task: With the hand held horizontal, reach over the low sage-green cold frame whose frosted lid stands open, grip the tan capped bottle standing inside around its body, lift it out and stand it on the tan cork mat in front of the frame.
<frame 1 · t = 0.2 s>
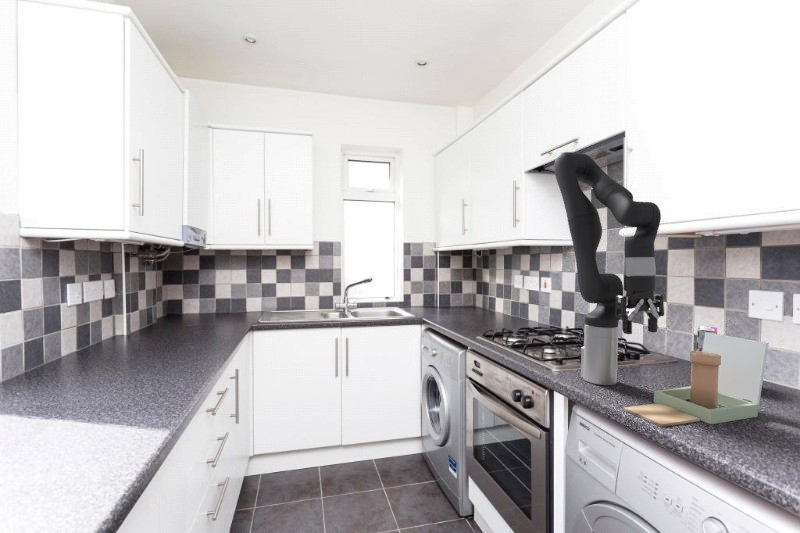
hand: (640, 332, 106), 17 cm above the worktop, tool pointing down, fingers open, 8 cm apart
mat: (660, 415, 93), on the worktop
candy bar box: (705, 380, 121), on the worktop
frame lid: (730, 365, 100), point 10 cm above the worktop
cold frame: (703, 409, 97), on the worktop
tan capped bottle: (704, 381, 97), in the cold frame
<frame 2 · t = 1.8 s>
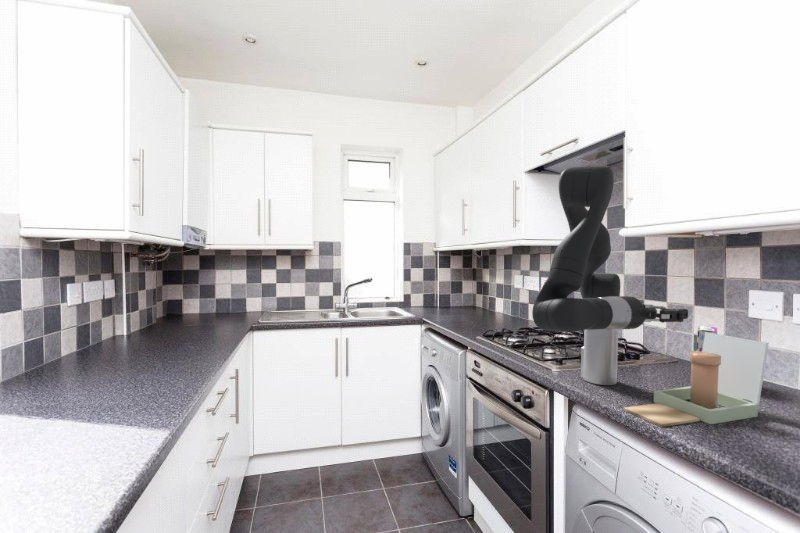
hand: (668, 311, 93), 25 cm above the worktop, tool horizontal, fingers open, 8 cm apart
nothing on the worktop moved.
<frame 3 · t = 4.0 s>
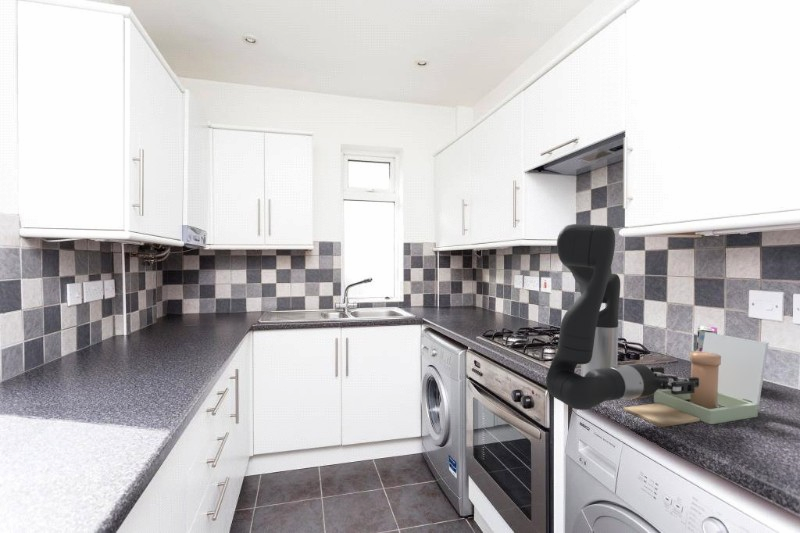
hand: (679, 376, 94), 9 cm above the worktop, tool horizontal, fingers open, 8 cm apart
nothing on the worktop moved.
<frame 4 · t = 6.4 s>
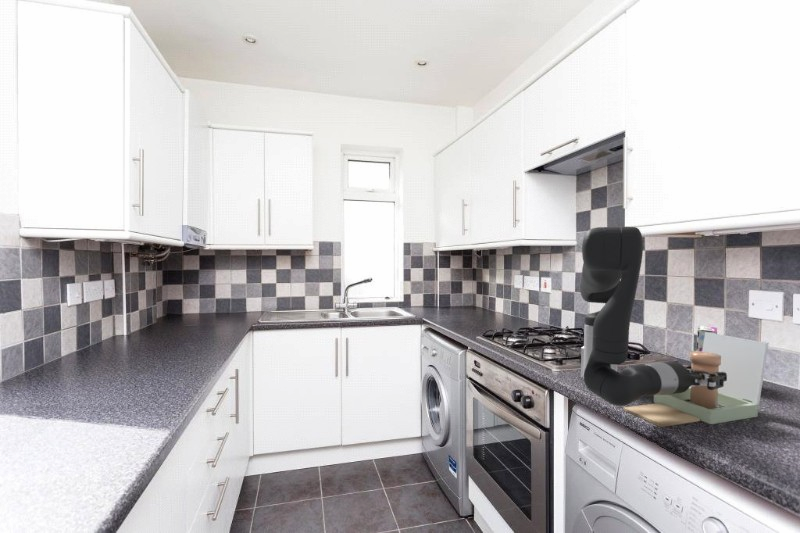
hand: (711, 372, 98), 9 cm above the worktop, tool horizontal, fingers closed on tan capped bottle, 5 cm apart
tan capped bottle: (704, 381, 97), in the cold frame, touching gripper
everything else where it was.
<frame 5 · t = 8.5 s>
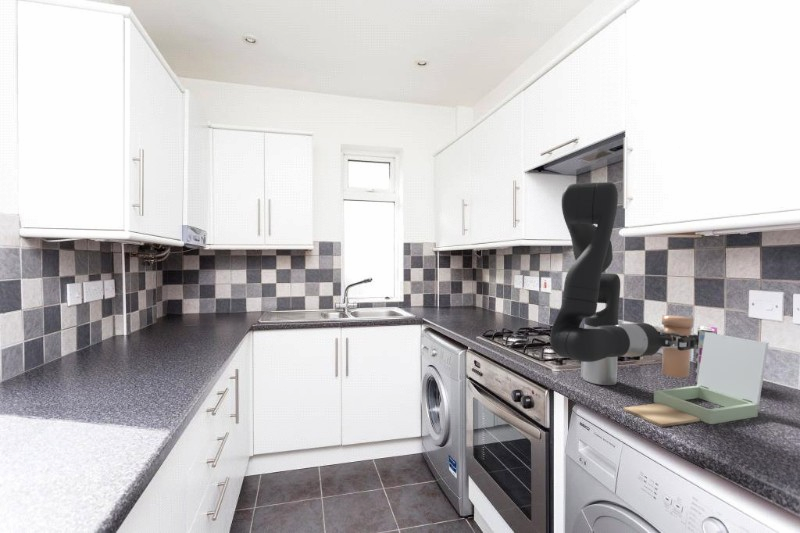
hand: (683, 337, 94), 19 cm above the worktop, tool horizontal, fingers closed on tan capped bottle, 5 cm apart
tan capped bottle: (676, 345, 93), point 17 cm above the worktop, touching gripper
everything else where it was.
when the fingers open (10 cm above the worktop, at t = 10.9 s): tan capped bottle stays where it is, resting on mat.
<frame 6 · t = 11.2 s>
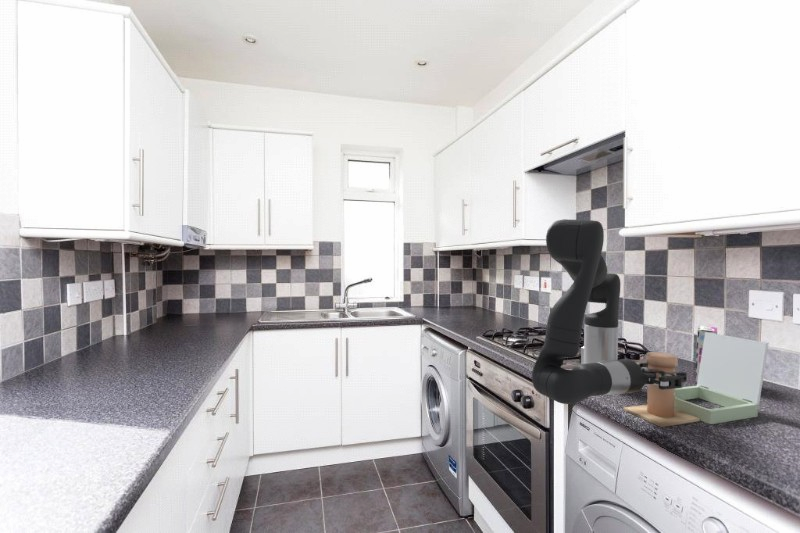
hand: (667, 371, 93), 11 cm above the worktop, tool horizontal, fingers open, 8 cm apart
tan capped bottle: (661, 384, 92), on the mat, point 8 cm above the worktop
everything else where it was.
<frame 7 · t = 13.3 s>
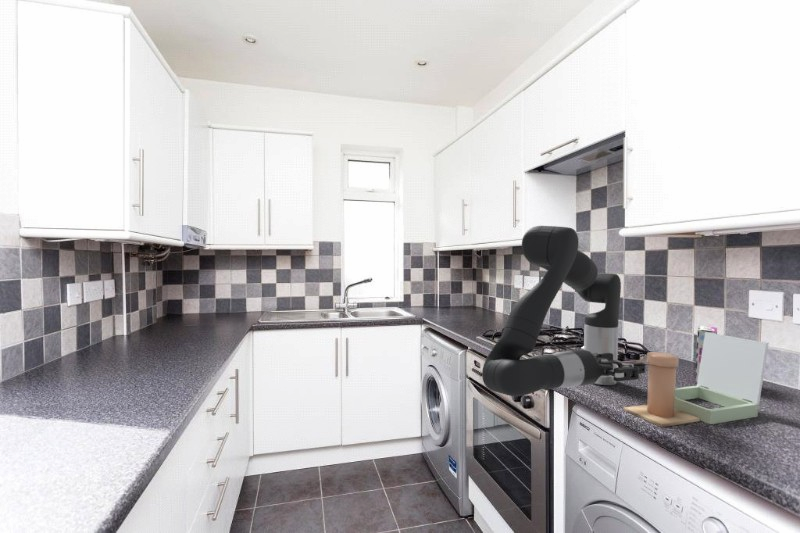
hand: (627, 362, 89), 14 cm above the worktop, tool horizontal, fingers open, 8 cm apart
nothing on the worktop moved.
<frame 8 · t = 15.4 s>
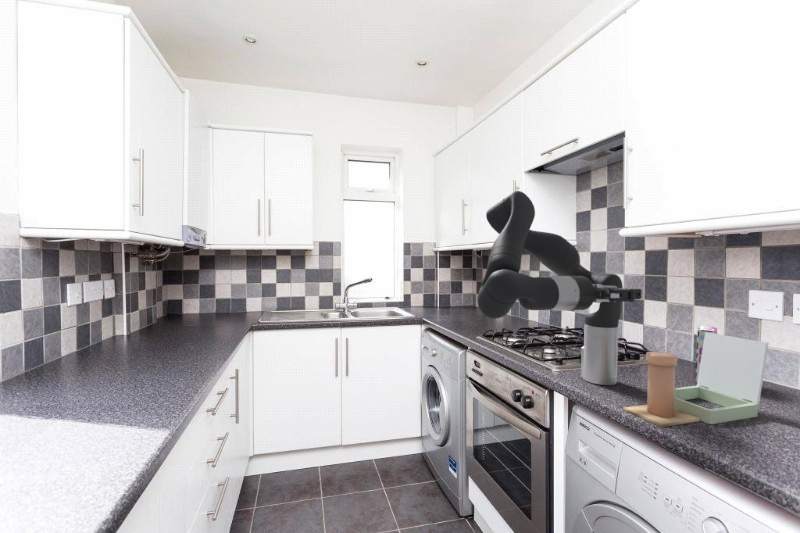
hand: (623, 292, 88), 30 cm above the worktop, tool horizontal, fingers open, 8 cm apart
nothing on the worktop moved.
at the end: tan capped bottle inside the target area on the mat (0.1 cm from its centre), point 7.7 cm above the mat's base; tan capped bottle tilted 1°; the gripper is holding nothing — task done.
